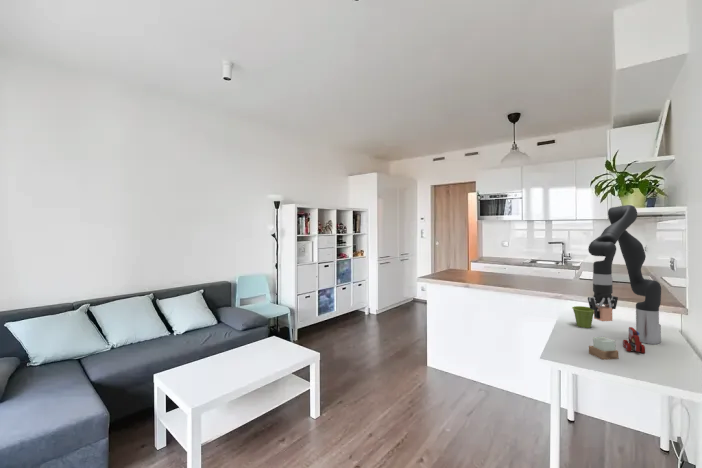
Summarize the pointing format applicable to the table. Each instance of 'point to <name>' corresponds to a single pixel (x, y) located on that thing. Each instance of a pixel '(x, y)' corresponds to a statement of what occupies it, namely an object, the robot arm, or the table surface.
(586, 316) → the plant pot
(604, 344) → the greygreen middle
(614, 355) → the walnut base
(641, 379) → the table surface
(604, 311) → the terracotta block
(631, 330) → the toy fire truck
